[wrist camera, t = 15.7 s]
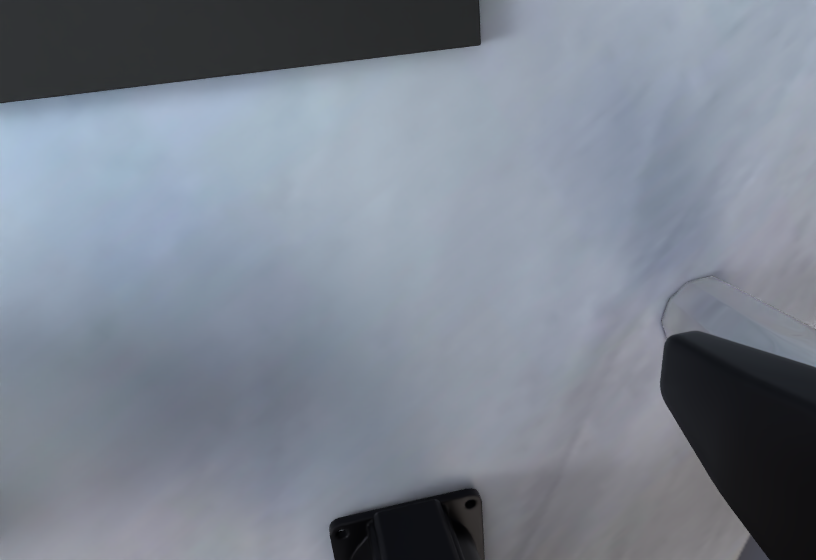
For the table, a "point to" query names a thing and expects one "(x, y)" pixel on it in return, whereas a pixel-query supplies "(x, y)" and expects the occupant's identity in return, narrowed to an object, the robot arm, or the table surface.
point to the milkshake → (738, 320)
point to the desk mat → (208, 39)
